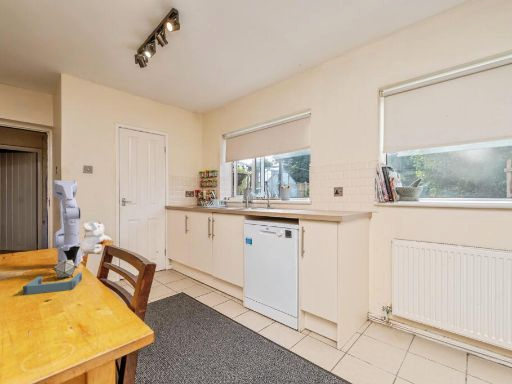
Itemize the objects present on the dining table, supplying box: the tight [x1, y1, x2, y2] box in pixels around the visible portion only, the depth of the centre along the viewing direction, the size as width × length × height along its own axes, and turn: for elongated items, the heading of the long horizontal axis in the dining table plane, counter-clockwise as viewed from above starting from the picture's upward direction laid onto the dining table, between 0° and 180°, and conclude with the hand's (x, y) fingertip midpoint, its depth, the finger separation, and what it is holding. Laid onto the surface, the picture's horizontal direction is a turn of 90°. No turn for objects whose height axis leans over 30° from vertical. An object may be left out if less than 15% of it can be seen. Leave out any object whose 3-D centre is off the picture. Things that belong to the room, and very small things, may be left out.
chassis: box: [22, 272, 83, 296], centre depth 98 cm, size 15×12×3 cm
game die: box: [52, 258, 79, 280], centre depth 109 cm, size 9×8×10 cm
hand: (71, 263), depth 116 cm, fingers closed
